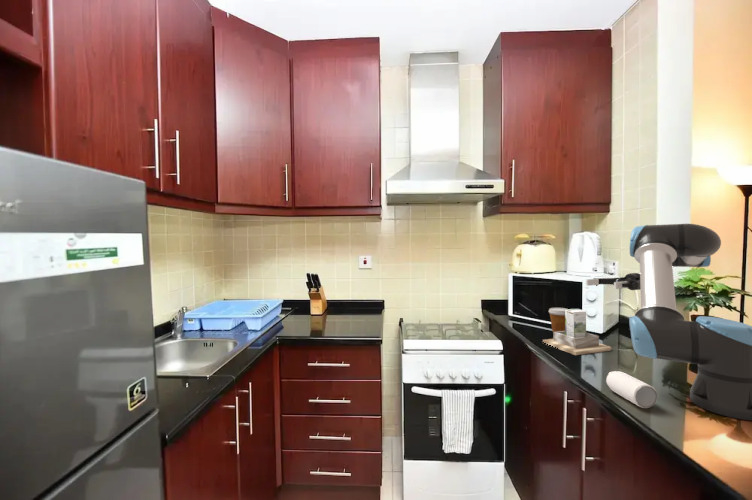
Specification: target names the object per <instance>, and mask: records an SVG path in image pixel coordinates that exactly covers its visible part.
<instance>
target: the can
mask: <svg viewBox="0 0 752 500" xmlns="http://www.w3.org/2000/svg"><path fill="white" fill-rule="evenodd" d="M605 383H606V385H607V386H608V388H609V389H610V390H611V391H613V392H614V393H616V394H617V395H619V396H621V397H622V398H624V399H625V400H627V401H629V402H631V403H632V404H635V405H636V406H637V407H639V408H642V409H648V408H649V409H650V408H652V407H653V406H655V404H656V403H657V400H658V392H657V391H656V389H655V388H654V386H652V385H650V384H648V383H646V382H644V381H642V380H640V379H638V378H637V377H634V376H631V375H630V374H628V373H625V372H623V371H618V370H612V371H610V372H608V374H607V375H606V378H605Z"/></svg>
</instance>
